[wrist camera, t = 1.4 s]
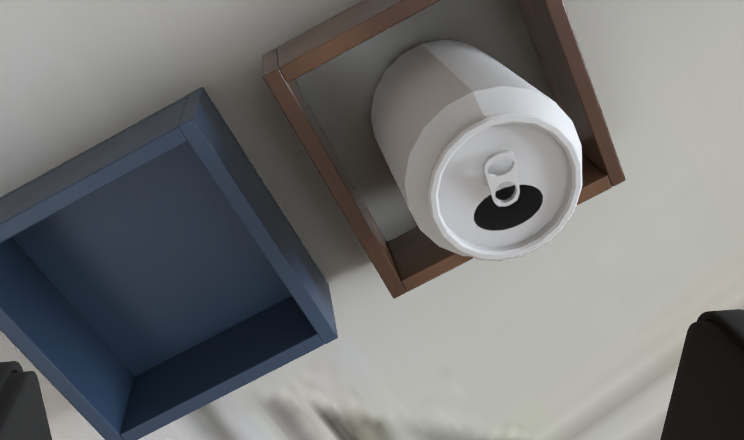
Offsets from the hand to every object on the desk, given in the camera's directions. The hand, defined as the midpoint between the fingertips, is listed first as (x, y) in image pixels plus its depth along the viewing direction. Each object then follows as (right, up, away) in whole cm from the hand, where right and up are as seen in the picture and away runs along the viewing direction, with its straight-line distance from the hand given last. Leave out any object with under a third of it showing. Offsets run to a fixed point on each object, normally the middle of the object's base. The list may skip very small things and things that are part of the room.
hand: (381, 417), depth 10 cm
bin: (-12, +1, +29) cm, 31 cm away
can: (+3, +9, +28) cm, 29 cm away
